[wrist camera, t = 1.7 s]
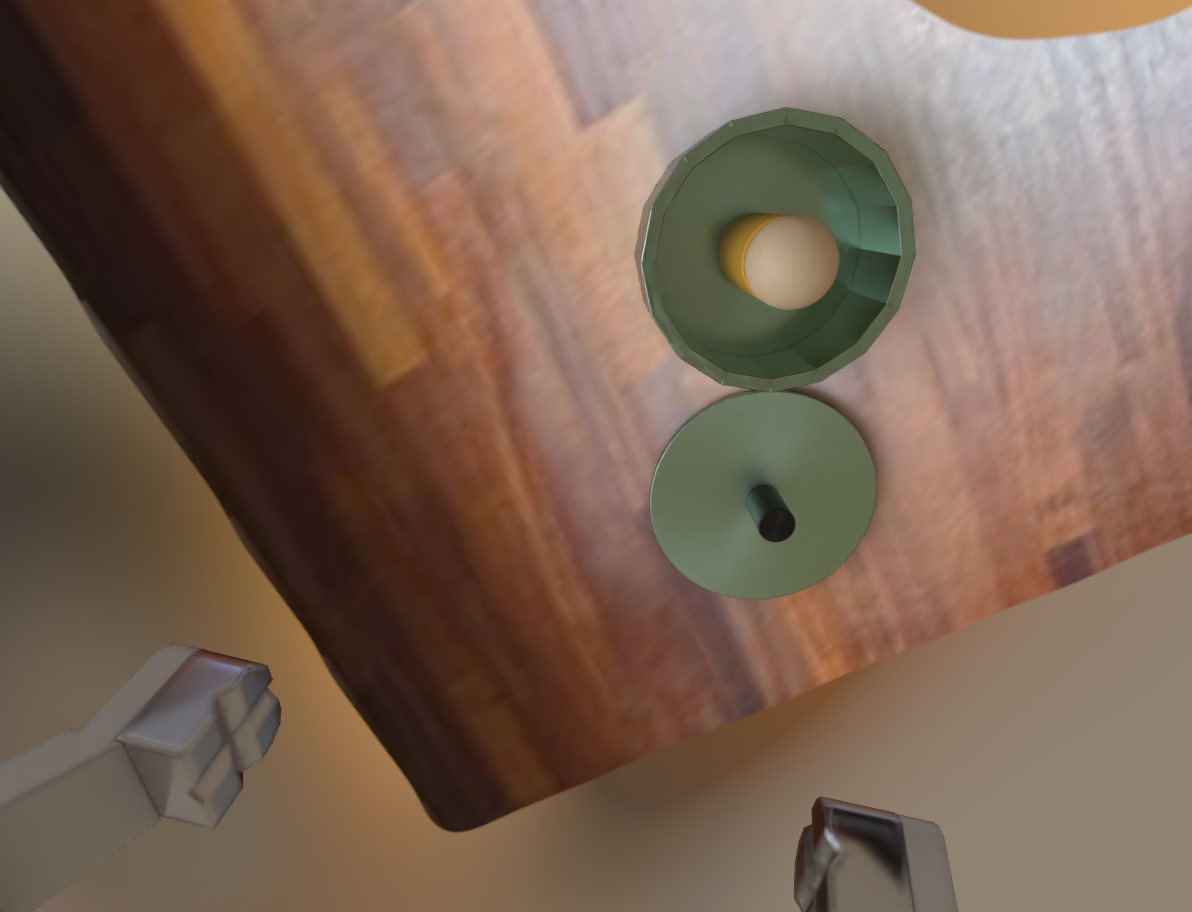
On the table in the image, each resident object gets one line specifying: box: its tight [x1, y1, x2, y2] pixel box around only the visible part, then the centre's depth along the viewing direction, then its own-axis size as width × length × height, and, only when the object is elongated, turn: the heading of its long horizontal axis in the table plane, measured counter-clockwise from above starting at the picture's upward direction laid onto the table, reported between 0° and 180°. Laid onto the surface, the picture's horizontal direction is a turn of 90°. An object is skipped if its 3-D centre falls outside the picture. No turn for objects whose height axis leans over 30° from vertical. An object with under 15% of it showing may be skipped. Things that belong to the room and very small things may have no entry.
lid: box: [650, 390, 876, 600], centre depth 48 cm, size 16×16×5 cm
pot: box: [635, 107, 915, 392], centre depth 42 cm, size 15×15×6 cm
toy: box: [718, 213, 839, 310], centre depth 39 cm, size 5×5×11 cm
